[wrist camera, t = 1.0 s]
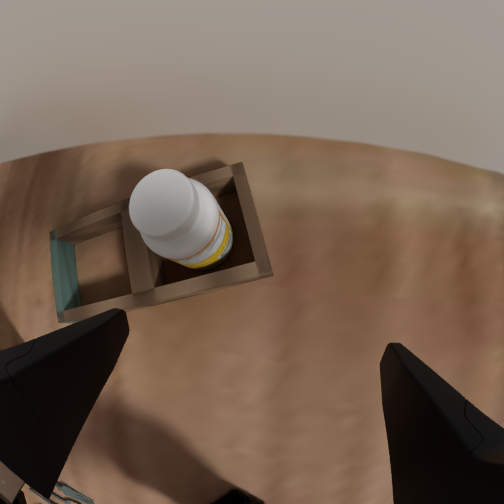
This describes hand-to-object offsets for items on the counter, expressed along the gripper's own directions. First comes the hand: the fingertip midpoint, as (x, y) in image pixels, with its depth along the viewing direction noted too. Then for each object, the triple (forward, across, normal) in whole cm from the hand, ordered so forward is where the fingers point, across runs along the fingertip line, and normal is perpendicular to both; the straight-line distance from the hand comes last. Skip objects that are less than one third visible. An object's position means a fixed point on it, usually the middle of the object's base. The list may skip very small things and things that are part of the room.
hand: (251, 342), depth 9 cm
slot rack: (+14, +11, +4) cm, 18 cm away
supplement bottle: (+15, +6, +2) cm, 17 cm away
